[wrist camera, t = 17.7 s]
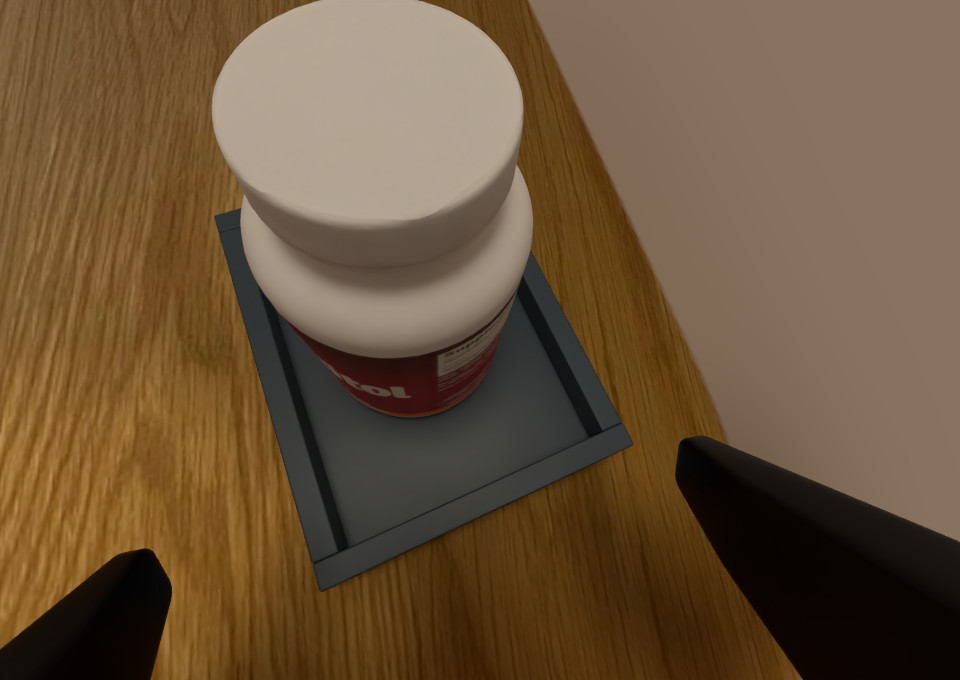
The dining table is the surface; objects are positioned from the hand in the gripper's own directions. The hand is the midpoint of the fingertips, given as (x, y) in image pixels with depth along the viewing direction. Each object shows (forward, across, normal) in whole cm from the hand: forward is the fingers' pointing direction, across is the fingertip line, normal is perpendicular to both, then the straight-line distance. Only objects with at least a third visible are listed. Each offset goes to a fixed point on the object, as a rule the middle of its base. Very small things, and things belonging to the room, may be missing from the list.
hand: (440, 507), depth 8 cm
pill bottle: (+10, 0, +1) cm, 10 cm away
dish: (+10, 0, +2) cm, 11 cm away
